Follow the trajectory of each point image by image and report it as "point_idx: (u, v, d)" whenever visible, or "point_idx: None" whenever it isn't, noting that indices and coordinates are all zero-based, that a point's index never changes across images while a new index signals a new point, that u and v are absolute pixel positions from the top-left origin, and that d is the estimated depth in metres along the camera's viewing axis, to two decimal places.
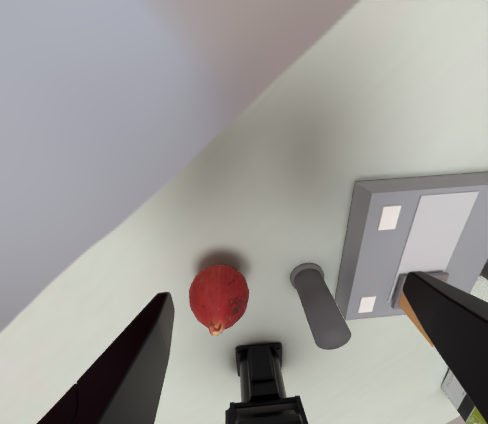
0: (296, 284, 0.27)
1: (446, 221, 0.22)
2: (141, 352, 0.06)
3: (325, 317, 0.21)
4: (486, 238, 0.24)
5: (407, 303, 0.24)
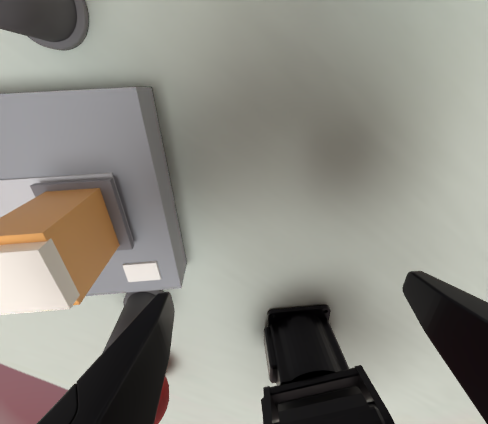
0: None
1: None
2: (141, 352, 0.06)
3: None
4: None
5: None
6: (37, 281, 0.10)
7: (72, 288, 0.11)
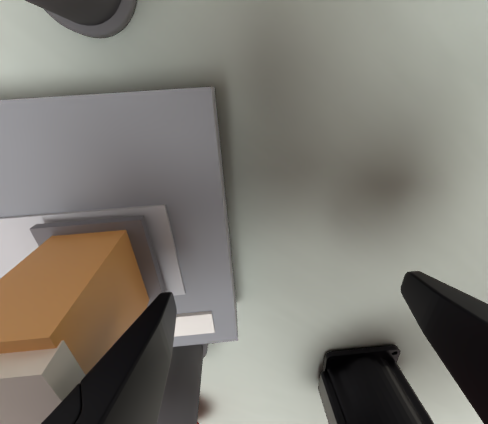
0: None
1: None
2: (144, 352, 0.06)
3: None
4: None
5: None
6: (40, 412, 0.06)
7: None
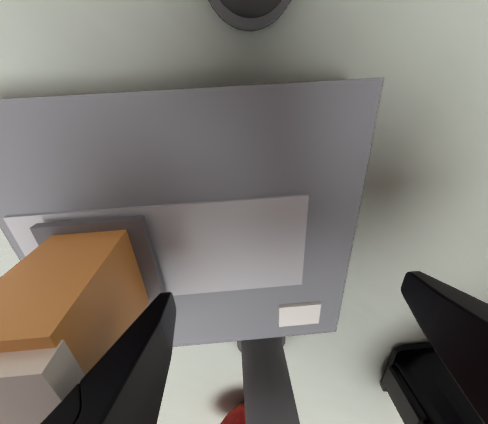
0: None
1: None
2: (144, 352, 0.06)
3: None
4: (110, 132, 0.09)
5: None
6: (40, 412, 0.06)
7: None
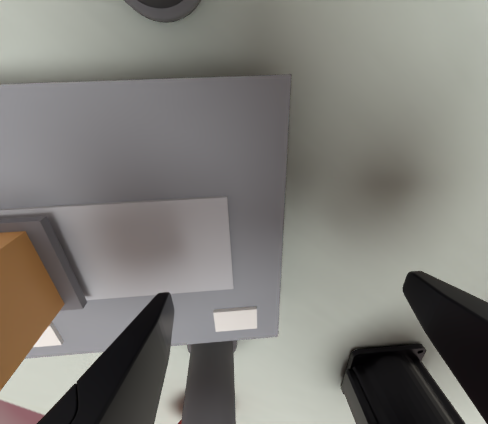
0: None
1: None
2: (141, 352, 0.06)
3: None
4: (0, 127, 0.08)
5: None
6: None
7: None
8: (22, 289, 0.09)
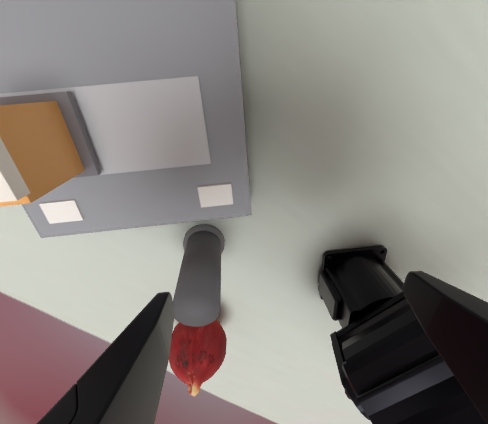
0: None
1: None
2: (141, 352, 0.06)
3: None
4: (37, 20, 0.12)
5: None
6: None
7: (20, 182, 0.10)
8: (57, 138, 0.13)
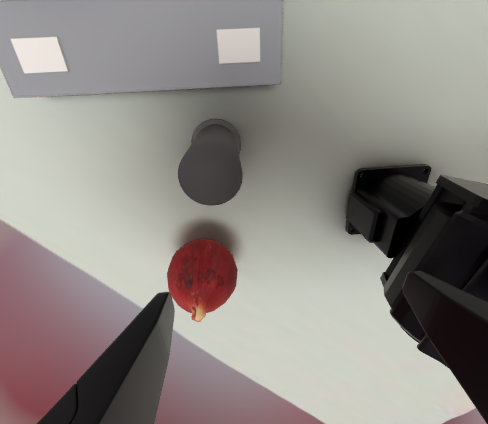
0: None
1: None
2: (141, 352, 0.06)
3: None
4: None
5: None
6: None
7: None
8: None
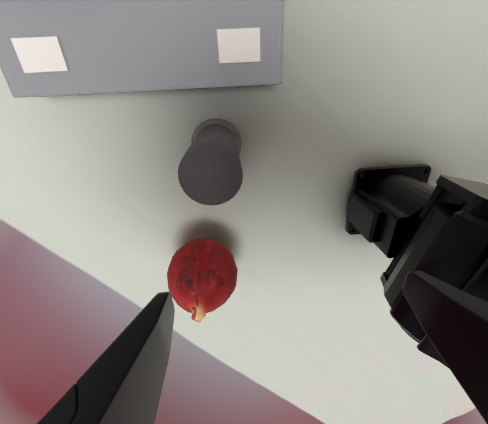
0: None
1: None
2: (141, 352, 0.06)
3: None
4: None
5: None
6: None
7: None
8: None
